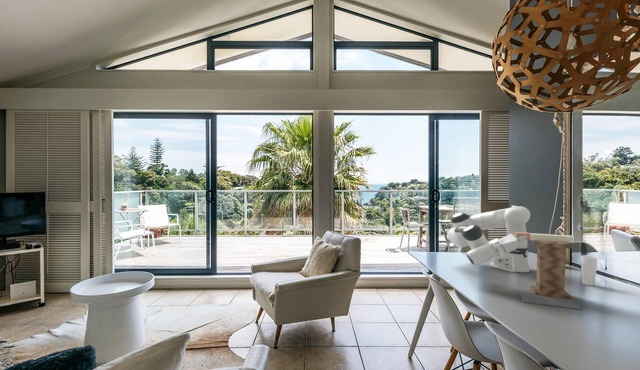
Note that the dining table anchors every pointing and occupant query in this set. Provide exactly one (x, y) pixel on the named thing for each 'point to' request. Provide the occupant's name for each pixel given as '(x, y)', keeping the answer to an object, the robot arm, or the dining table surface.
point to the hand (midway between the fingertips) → (525, 235)
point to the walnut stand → (551, 269)
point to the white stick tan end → (546, 237)
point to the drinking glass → (588, 269)
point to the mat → (550, 301)
